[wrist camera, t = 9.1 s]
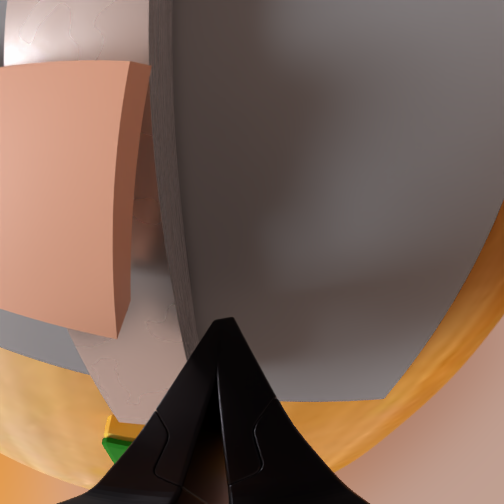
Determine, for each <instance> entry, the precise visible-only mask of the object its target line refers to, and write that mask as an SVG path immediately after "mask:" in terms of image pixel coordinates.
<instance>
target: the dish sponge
mask: <svg viewBox="0 0 504 504" xmlns="http://www.w3.org/2000/svg"><path fill="white" fill-rule="evenodd" d="M144 426H145V425H143V424H132V423H122V422H118V420H117V418H116V417H115V415H111V416H108V418H107V422H106V427H105V431H104V436H105V438H103V440H102V444H103V446H104V448H105V449H106V451H107V453H108V454H109V456H110V458H111V459H112V461H113V462H114V464H115V463H116V462H117V460H118V459H119V458H120V457H121V456H122V455H123V453H124V452H125V451H126V450H127V448H128V447H129V446H130V445H131V443H132V442H133V441H134V440H135V438H136V437H137V436H138V434H139V433H140V432H141V430H142V429H143V427H144Z"/></svg>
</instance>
